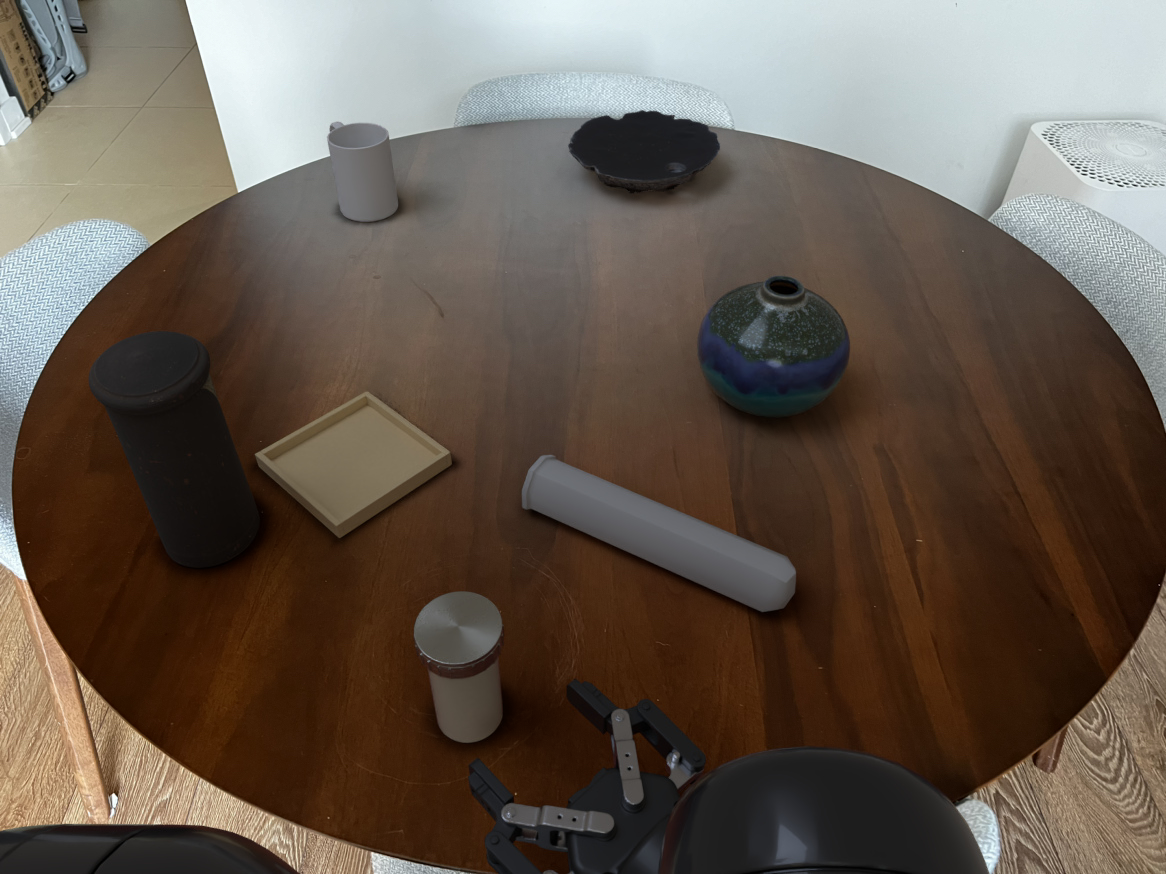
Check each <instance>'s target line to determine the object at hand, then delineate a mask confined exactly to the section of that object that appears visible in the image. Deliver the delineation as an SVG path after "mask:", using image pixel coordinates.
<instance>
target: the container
mask: <svg viewBox="0 0 1166 874" xmlns="http://www.w3.org/2000/svg"><path fill="white" fill-rule="evenodd" d="M210 370H211V356H210V352H209V351H208V349H207V347H206V346H205V345H204V343H202V342H201V341H200V340H198V339H197V338H195V337H193V336H191V335H188V334H185V333H181V332H176V331H169V330H167V331H166V330H158V331H156V330H155V331H148V332H142V333H138V334H134V335H132V336H130V337H129V336H128V337H126V338H124V339H121V340H119V341H118V342H115V343H114V344H112V345H111V346H109V347H108V348H107V349H105V350H104V352H102V353H101V354H100V355H99V356H98V357H97V358H96V359H95V360H94V362H93V363H92V366H91V367H90V369H89V373H88V386H89V388H90V389H89V390H90V392H91V393H92V395H93V396H94V398H95V399H96V400H97V401H98V402H99V403H100V404H101V405H102V406H103V407H104V408H105V411H106V413H107V416H108V417H109V419H110V422H111V424H112V426H113V429H114V431H115V434H116V436H117V438H118V440H119V443H120V445H121V447H122V449H123V452H124V456H125V458H126V460H127V462H128V465H129V467H130V469H131V471H132V474H133V476H134V479H135V481H136V483H137V486H138V488H139V490H140V493H141V496H142V497H143V501H144V502H145V505H146V507H147V510H148V513H149V514H150V517H151V519H152V522H153V524H154V526H155V529H156V531H157V534H158V536H159V538H160V541H161V543H162V545H163V548H164V549H165V550H164V551H166V553H167V555H168V557H169V558H170V559H171V560H172V561H174V562H175V563H176V564H178V565H181V566H183V567H187V568H197V569H198V568H199V569H201V568H202V569H203V568H211V567H215V566H218V565H221V564H225V562H229V561H230V560H233V559H234V558H236V557H237V556H239V555H240V554H241V553H242V552H244V551H245V550H246V549H247V548H248V547H249V546H250V545H251V543H252V542H253V541H254V540H255V538H256V536H257V534H258V532H259V529H260V523H261V518H260V517H261V516H260V513H259V511H258V507H257V504H256V501H255V498H254V495H253V493H252V490H251V487H250V485H249V482H248V478H247V476H246V473H245V471H244V467H243V464H242V462H241V459H240V456H239V454H238V451H237V448H236V446H235V443H234V440H233V438H232V434H231V432H230V429H229V425H228V423H227V420H226V417H225V414H224V412H223V408H222V406H221V402H220V400H219V397H218V395H217V391H216V388H215V386H214V385H215V384H214V382H213V379H212V376H211V374H210Z"/></svg>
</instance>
